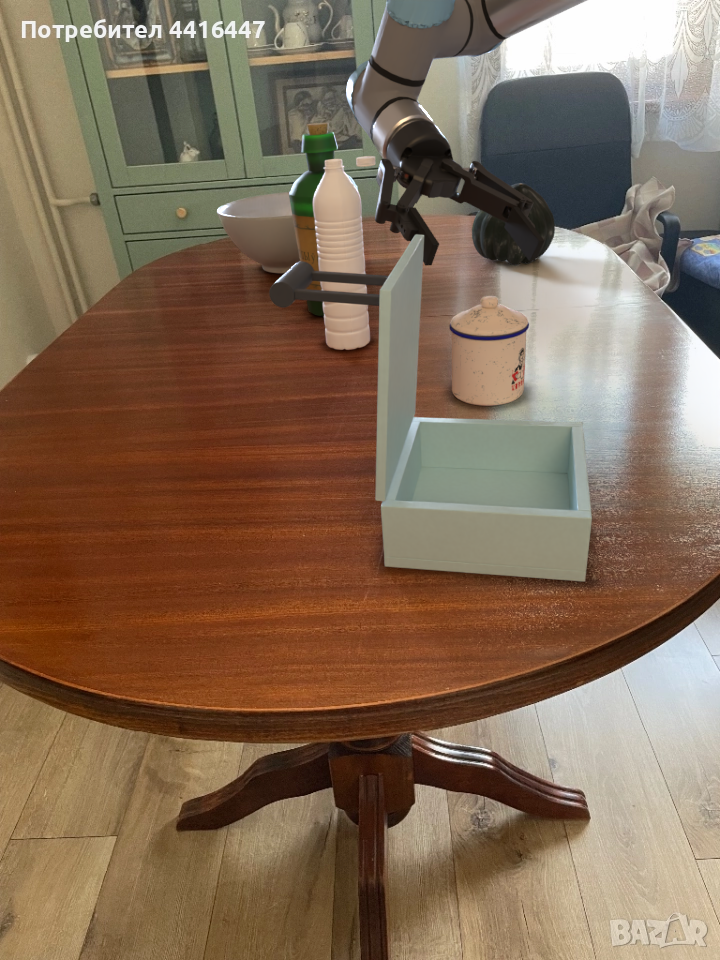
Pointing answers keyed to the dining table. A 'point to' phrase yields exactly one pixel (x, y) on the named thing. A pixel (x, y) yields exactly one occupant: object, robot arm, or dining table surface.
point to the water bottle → (341, 252)
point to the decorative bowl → (263, 230)
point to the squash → (497, 240)
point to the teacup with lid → (488, 353)
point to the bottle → (311, 198)
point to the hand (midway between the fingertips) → (486, 253)
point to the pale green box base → (490, 499)
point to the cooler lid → (395, 342)
